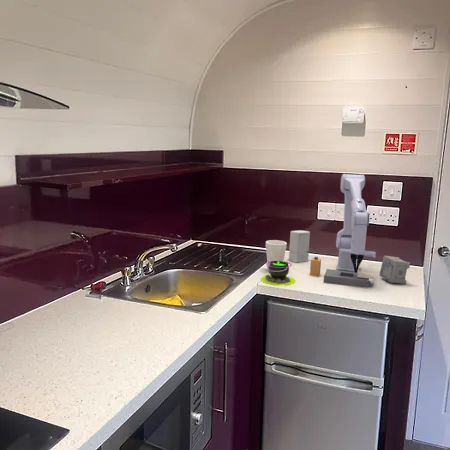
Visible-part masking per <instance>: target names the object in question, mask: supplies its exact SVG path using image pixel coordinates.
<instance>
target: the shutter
mask: <svg viewBox="0 0 450 450" xmlns="http://www.w3.org/2000/svg"><path fill="white" fill-rule="evenodd" d="M357 277H360V278H368V279H369V280H370V279H371V280H374V279H375V273H374V272H365V271H363V267H360V266H359V268H358V274H357Z"/></svg>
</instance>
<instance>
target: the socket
mask: <svg viewBox="0 0 450 450" xmlns="http://www.w3.org/2000/svg"><path fill="white" fill-rule="evenodd" d="M357 274H358V272H357V273H355V272H354V271H347V270H338V269H332V268H331V269H330V268H326V271H325V272H324V274H323V284H324V283H325V284H334V285H341V286H349V287H355V288H356V287H358V288H359V287H360V288H366V289H368V288H369V282H370V279H368V278H360V277H357Z"/></svg>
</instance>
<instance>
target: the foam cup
mask: <svg viewBox="0 0 450 450" xmlns="http://www.w3.org/2000/svg"><path fill="white" fill-rule="evenodd" d="M287 244H288V243H287V242H286V241H284V240H279V239H278V240H277V239H272V240H271V239H269V240H266V241H265V251H266V252H265V253H266V263H269V261H270V262H271V261H274V260H275V261H284V260H285V255H286V251H287ZM282 254H283V255H282ZM271 257H272V258H271ZM283 257H284V258H283ZM271 259H272V260H271ZM269 264H270V263H269ZM268 268H269V266H268ZM268 268H267V271H268V272H269V270H268Z"/></svg>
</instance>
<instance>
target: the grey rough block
mask: <svg viewBox="0 0 450 450" xmlns="http://www.w3.org/2000/svg"><path fill="white" fill-rule="evenodd" d="M410 267H411V263H410V262H409V261H405V260H403V259H401V258H400V257H398V256H389V255H383V258H382V261H381V266H380V271H379V277H381V278H382V279H384V281H385V282H387V283H388V282H389V283H392V284H393V283H394V284H403V285H406V284H407V279H406V276H407V271H408V269H410Z"/></svg>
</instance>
